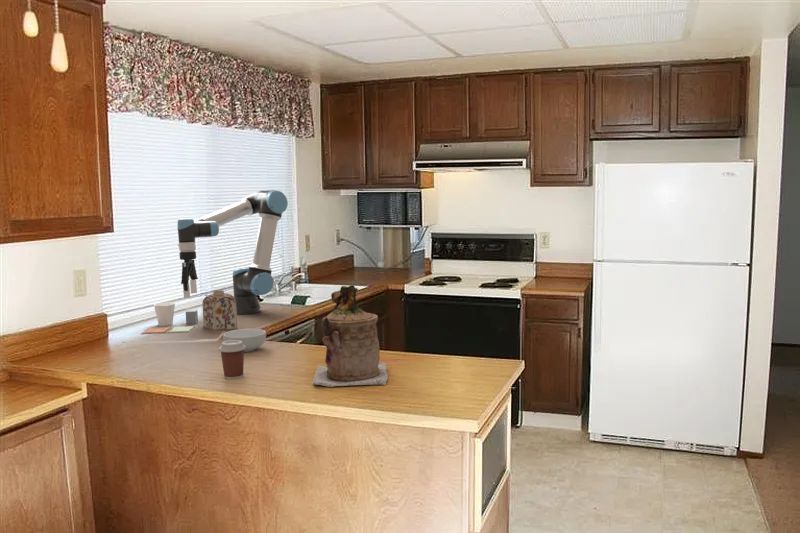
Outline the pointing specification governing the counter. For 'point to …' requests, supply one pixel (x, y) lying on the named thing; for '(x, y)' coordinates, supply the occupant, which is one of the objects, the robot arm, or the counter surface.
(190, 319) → the slate block
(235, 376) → the coffee cup
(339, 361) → the cookie jar
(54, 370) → the counter surface
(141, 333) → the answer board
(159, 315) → the cup
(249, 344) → the cereal bowl
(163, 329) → the pad
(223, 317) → the decorative jar
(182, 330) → the pad
